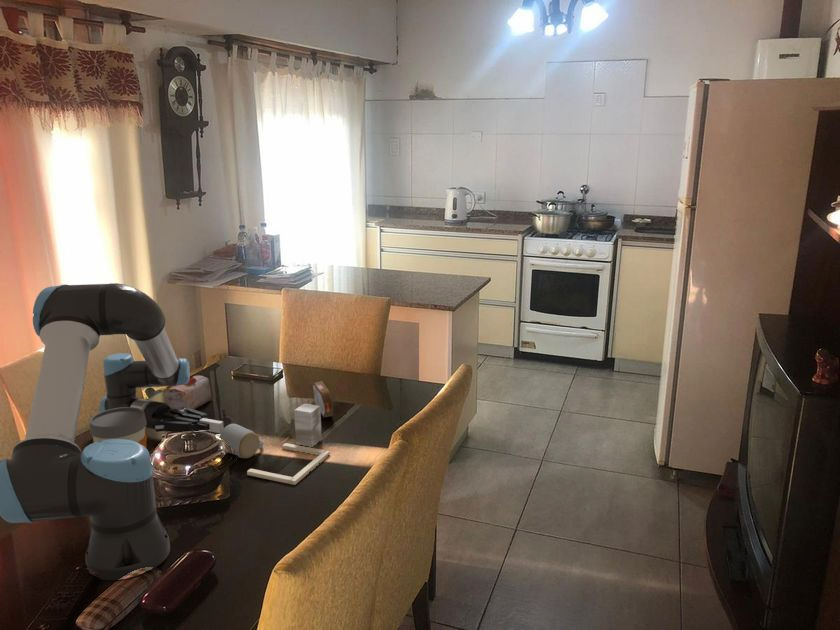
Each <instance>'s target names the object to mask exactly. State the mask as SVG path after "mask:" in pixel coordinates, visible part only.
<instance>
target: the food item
mask: <svg viewBox="0 0 840 630" xmlns="http://www.w3.org/2000/svg"><path fill="white" fill-rule="evenodd" d="M211 391H212V390H211V384H210V380H209V378H208V377H205V376H203V375H194V376H191V375H190V379H189V382H188V383H187V384H185V385H177V386H170V388H168V389H167V392H166V393H164V399H165V401H164V403H166V404H167V405H168V406H169V407H170V408H171V409H179V410H183V409H184V407H185V406H189V407H190V408H191V409H194V410H196V409H197V408H199V407H201V406H203V405H204V404H207V403H208V402H210V401H212V400H213V398H212V393H211Z"/></svg>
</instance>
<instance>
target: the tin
mask: <svg viewBox="0 0 840 630" xmlns="http://www.w3.org/2000/svg"><path fill="white" fill-rule="evenodd" d="M312 389H313V400H314V403H315V404H314V405H317V406H320V412H321V416H322V418H329V417H333V415H334V405H333V401H332V396H331V393H330V391H329V389H328V388H327V386H326V385H325V384H324V382H323V381H322V380H320V381H317V382H314V383H312Z"/></svg>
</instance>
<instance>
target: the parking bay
mask: <svg viewBox="0 0 840 630" xmlns="http://www.w3.org/2000/svg"><path fill="white" fill-rule="evenodd" d="M281 448H282V450H288V451H292V450H293V451H294V452H297V451H299V452H298V453H302V452H305V453H304V454H307V453H310V454H309V455H313V454H315V455H314V456H316V457H315V458H314V459H313V460H312V461H310V462H309V463H307V465H306V466H304V467H303V468H301V470H299V471H298V472H297V473H296V474H295V475H294V476H290V475H289V476H288V475H283V474H280V473H274V472H269V471H264V470H260V469H255V468H249V469H248V470H246V475H247V476H251V477H256V478H259V479H260V478H261V479H265V480H270V481H275V482H280V483H283V484H284V483H285V484H287V485H288V484H289V485H294V486H296V485H297V484H298V483H299V482H300V481H301V480H303V479H304V478H305V477H306V476H307V475H309V474H310V473H311V472H312V471H313V470H314V469H315V468H317V467H318V466H319V465H320V464H321V463H322V462H323V460H324V459H325V458H326V457H327V456H328V455H329V454H330V455H331V451H330V450H325V449H320V448H314V447H313V448H311V447H305V446H300V445H296V444H293V443H287V442H285V443H283V444H282V445H281ZM318 455H319V456H318ZM330 455H329V456H330ZM329 456H328V457H329ZM328 457H327V458H328ZM327 458H326V459H327ZM326 459H325V460H326ZM325 460H324V461H325ZM319 463H320V464H319ZM316 466H317V467H316ZM310 471H311V472H310ZM309 472H310V473H309Z"/></svg>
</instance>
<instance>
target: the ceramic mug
mask: <svg viewBox="0 0 840 630" xmlns="http://www.w3.org/2000/svg"><path fill="white" fill-rule="evenodd" d="M219 434H220V435H219V438H221V439H223V440H224V441H225V442H226V443H227V444H228V445H229V446H230V447H231V448H232V449H234V450H235V451H236V452H238V457H237V458H239V459H249V458H251V457H253V456H254V455H255V454H256V453H257V451H258V449H263V447H264V444H265V443H264V441H262V440H260V438H259V435H258V434H257V433H256V432H254V431H253V430H251V429H249V428H246V427H244V426H242V425H239V424H237V423H230V424H228V425H226V426H225V427H224V429H223V430H222V432H221V433H219ZM219 438H218V439H219Z"/></svg>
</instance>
